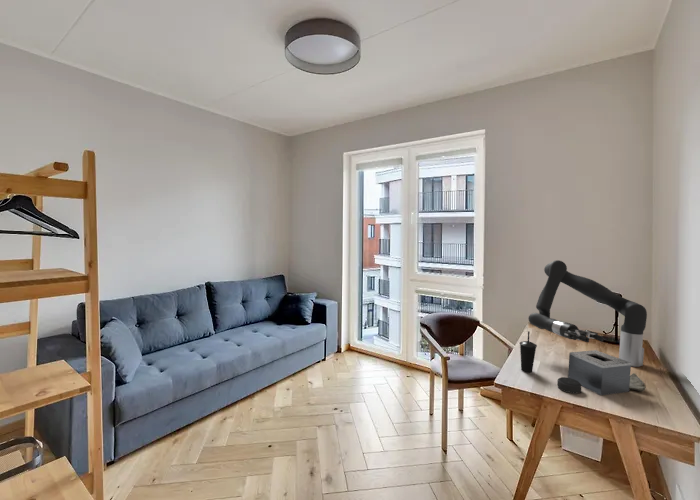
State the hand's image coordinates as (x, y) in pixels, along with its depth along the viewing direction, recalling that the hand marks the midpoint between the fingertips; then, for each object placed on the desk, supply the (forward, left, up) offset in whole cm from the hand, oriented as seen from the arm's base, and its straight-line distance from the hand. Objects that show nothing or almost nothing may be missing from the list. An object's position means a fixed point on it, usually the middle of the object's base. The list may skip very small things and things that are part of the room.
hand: (595, 339), depth 154 cm
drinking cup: (+24, -12, -21) cm, 34 cm away
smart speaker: (+15, +7, -21) cm, 27 cm away
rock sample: (-14, +4, -21) cm, 26 cm away
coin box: (-1, +2, -20) cm, 21 cm away
